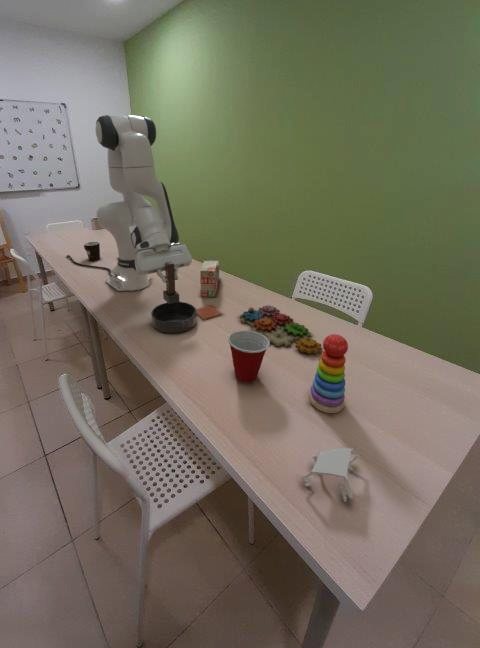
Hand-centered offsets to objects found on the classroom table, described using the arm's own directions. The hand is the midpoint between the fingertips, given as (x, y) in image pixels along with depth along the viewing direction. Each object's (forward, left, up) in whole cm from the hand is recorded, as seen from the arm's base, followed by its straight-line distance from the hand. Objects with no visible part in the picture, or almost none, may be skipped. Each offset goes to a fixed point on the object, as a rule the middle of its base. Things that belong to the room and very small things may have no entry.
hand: (170, 280), depth 103 cm
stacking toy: (+56, -3, -17) cm, 58 cm away
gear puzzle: (+33, +19, -17) cm, 41 cm away
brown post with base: (-1, 0, -8) cm, 8 cm away
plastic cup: (+36, -7, -17) cm, 40 cm away
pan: (0, +1, -17) cm, 17 cm away
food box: (-10, +34, -17) cm, 40 cm away
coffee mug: (-92, +24, -17) cm, 97 cm away
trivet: (+5, +14, -17) cm, 23 cm away
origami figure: (+64, -21, -17) cm, 69 cm away
